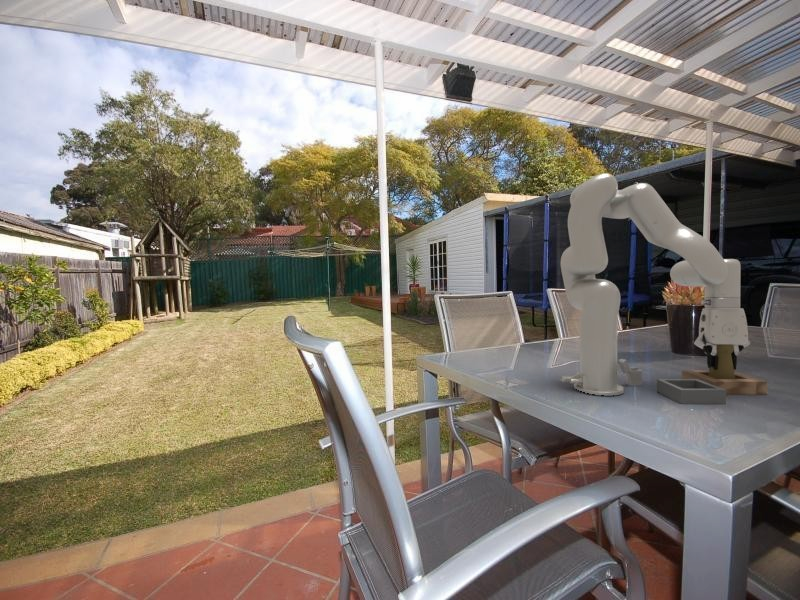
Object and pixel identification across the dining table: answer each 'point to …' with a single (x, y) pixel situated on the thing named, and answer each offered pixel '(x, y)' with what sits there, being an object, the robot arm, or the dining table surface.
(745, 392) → the socket block
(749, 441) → the dining table surface
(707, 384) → the grey square frame
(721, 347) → the cork
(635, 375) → the lighter
